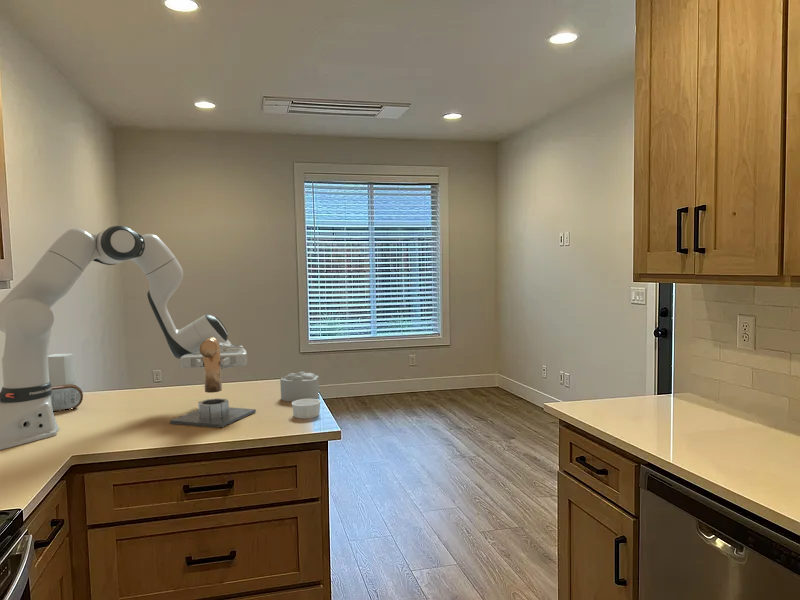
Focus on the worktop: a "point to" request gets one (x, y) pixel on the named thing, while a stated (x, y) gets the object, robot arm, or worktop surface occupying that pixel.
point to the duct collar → (213, 414)
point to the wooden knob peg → (211, 365)
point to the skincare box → (61, 369)
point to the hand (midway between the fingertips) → (211, 363)
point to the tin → (66, 397)
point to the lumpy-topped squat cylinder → (299, 386)
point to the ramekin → (306, 408)
